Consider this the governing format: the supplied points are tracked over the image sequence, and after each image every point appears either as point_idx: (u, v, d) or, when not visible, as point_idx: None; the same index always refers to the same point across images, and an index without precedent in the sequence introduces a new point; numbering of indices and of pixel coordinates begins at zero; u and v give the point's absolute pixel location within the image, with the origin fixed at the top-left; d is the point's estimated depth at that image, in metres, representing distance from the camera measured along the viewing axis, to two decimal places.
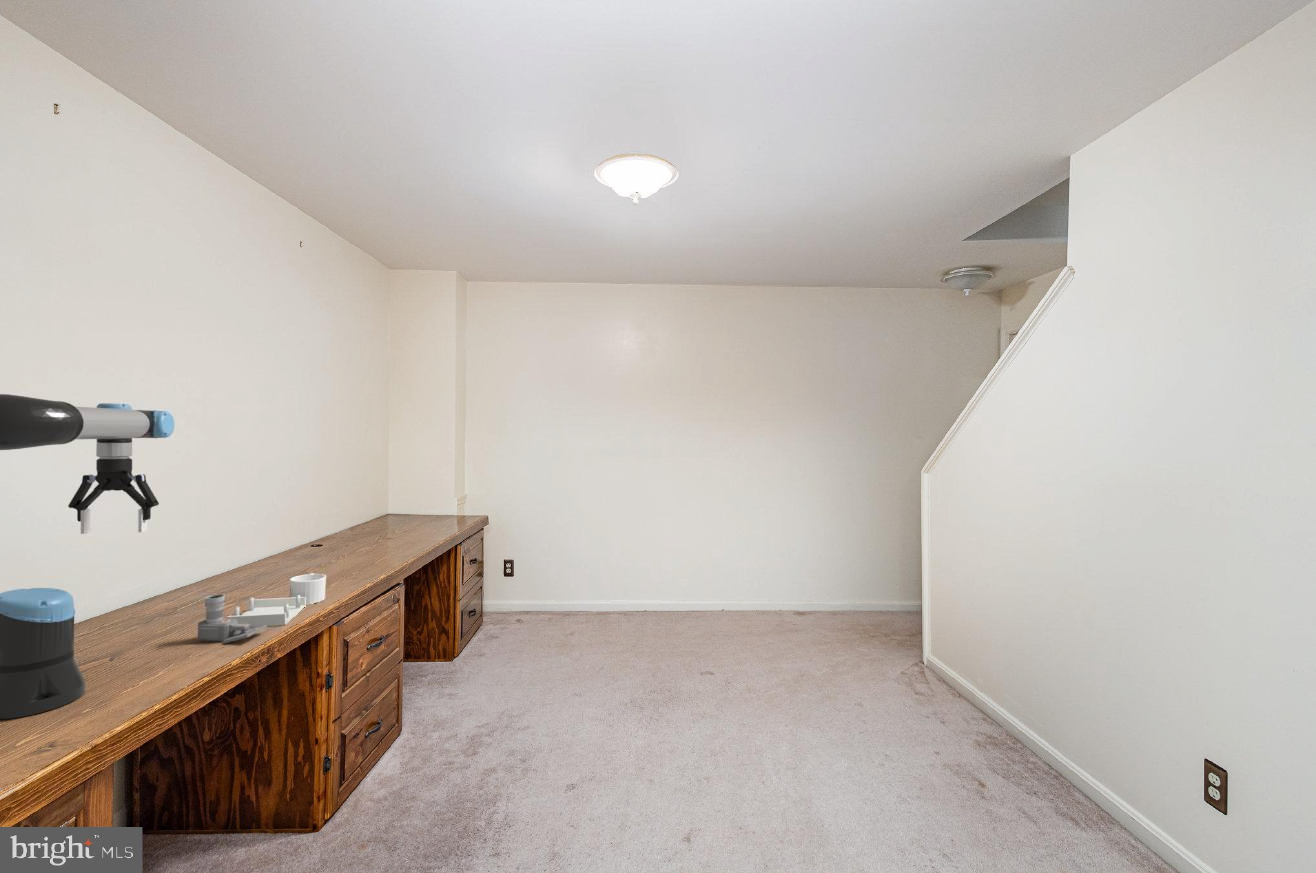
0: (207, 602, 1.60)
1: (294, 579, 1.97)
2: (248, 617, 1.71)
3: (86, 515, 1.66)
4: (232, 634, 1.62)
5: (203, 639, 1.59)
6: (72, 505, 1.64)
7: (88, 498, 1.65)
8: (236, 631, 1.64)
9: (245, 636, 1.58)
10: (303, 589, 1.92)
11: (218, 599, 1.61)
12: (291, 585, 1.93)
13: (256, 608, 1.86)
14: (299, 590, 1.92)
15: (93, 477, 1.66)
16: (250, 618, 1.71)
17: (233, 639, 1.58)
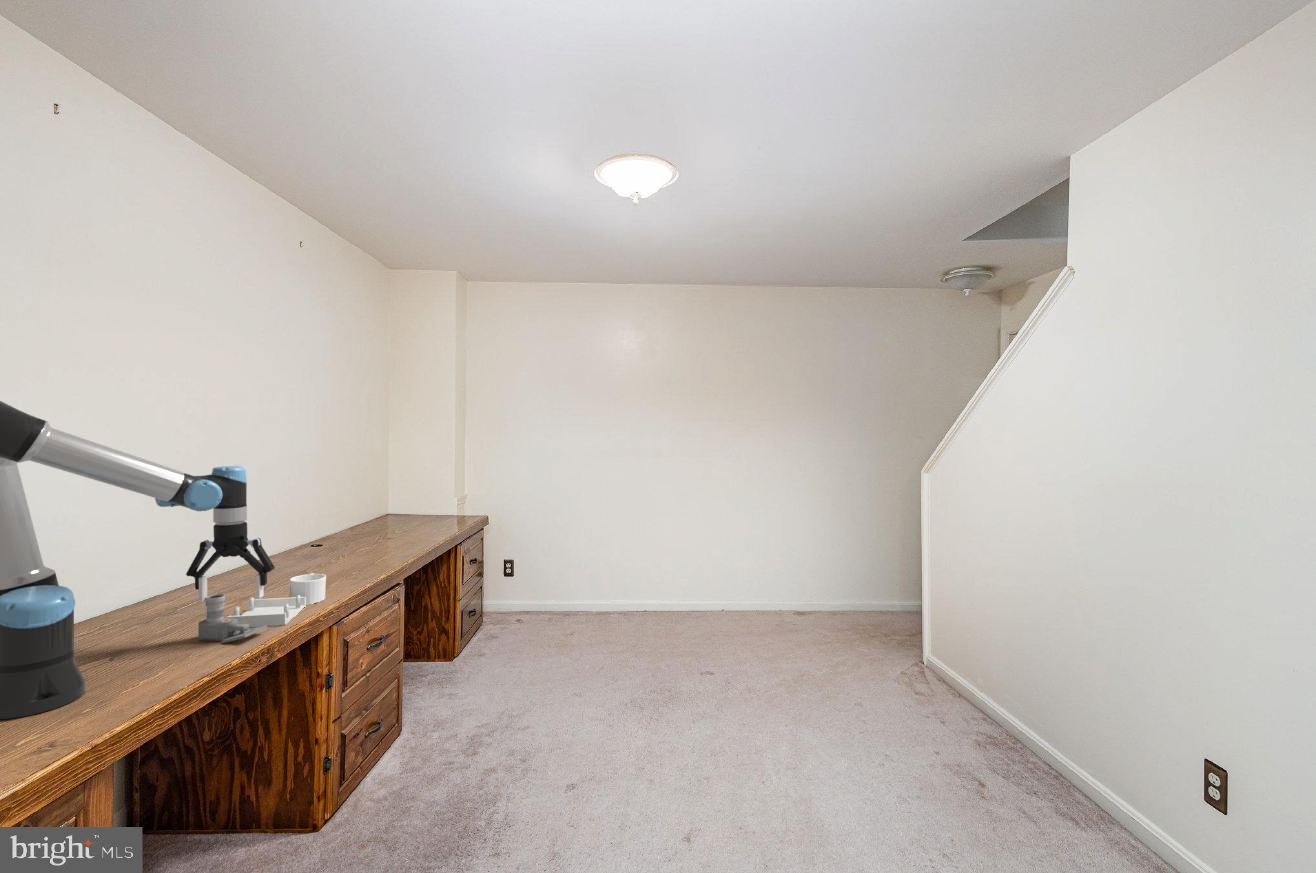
0: (207, 602, 1.60)
1: (294, 579, 1.97)
2: (248, 617, 1.71)
3: (203, 583, 1.60)
4: (232, 634, 1.62)
5: (203, 638, 1.60)
6: (190, 573, 1.59)
7: (206, 565, 1.60)
8: (236, 631, 1.64)
9: (243, 636, 1.58)
10: (303, 589, 1.92)
11: (218, 599, 1.61)
12: (291, 585, 1.93)
13: (256, 608, 1.86)
14: (299, 590, 1.92)
15: (210, 543, 1.60)
16: (250, 618, 1.71)
17: (231, 639, 1.58)
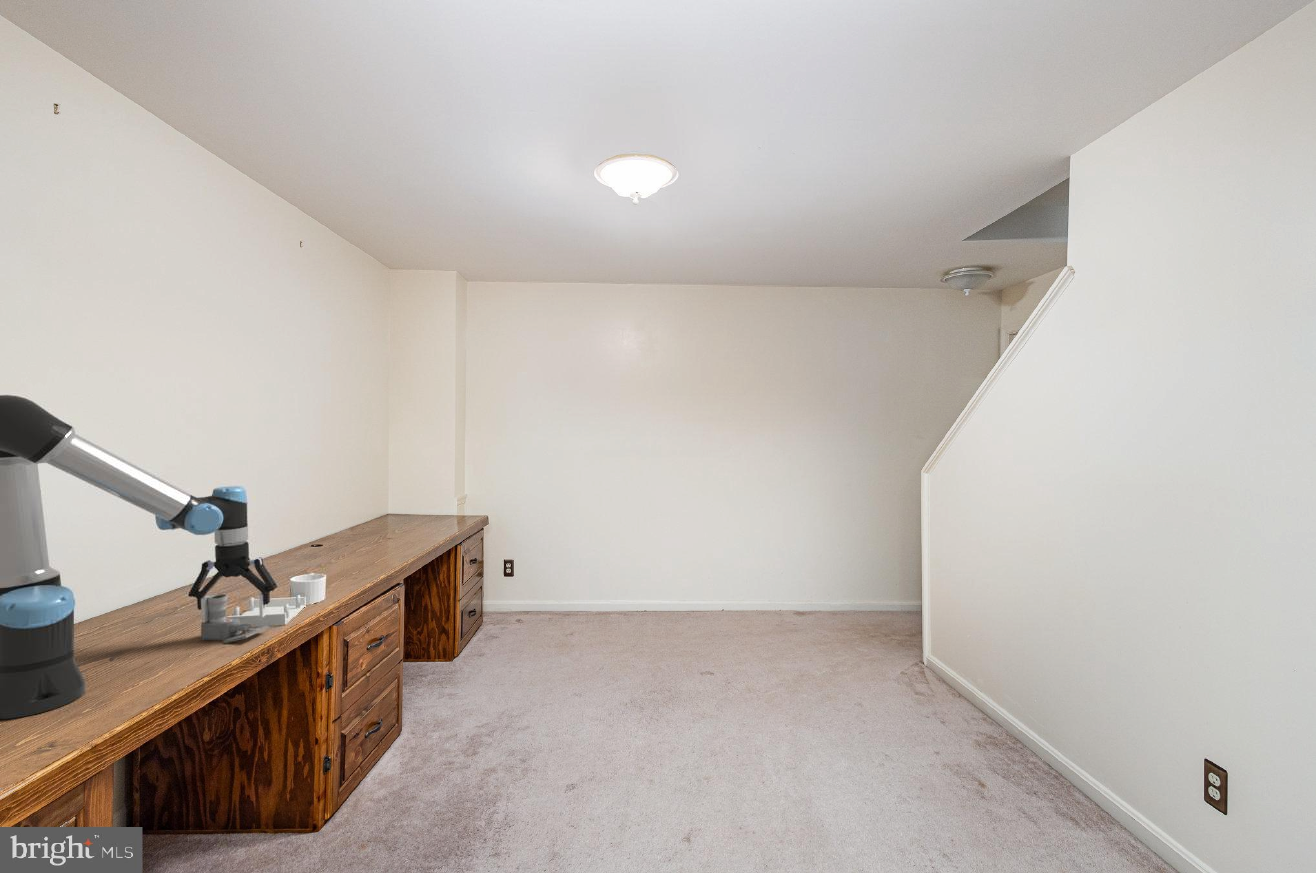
0: (209, 602, 1.61)
1: (294, 579, 1.97)
2: (248, 617, 1.71)
3: (206, 603, 1.61)
4: (234, 634, 1.63)
5: (205, 638, 1.60)
6: (192, 594, 1.59)
7: (208, 586, 1.60)
8: (238, 631, 1.64)
9: (244, 637, 1.58)
10: (303, 589, 1.92)
11: (220, 599, 1.62)
12: (291, 585, 1.93)
13: (256, 608, 1.86)
14: (299, 590, 1.92)
15: (212, 564, 1.61)
16: (250, 618, 1.71)
17: (233, 639, 1.58)
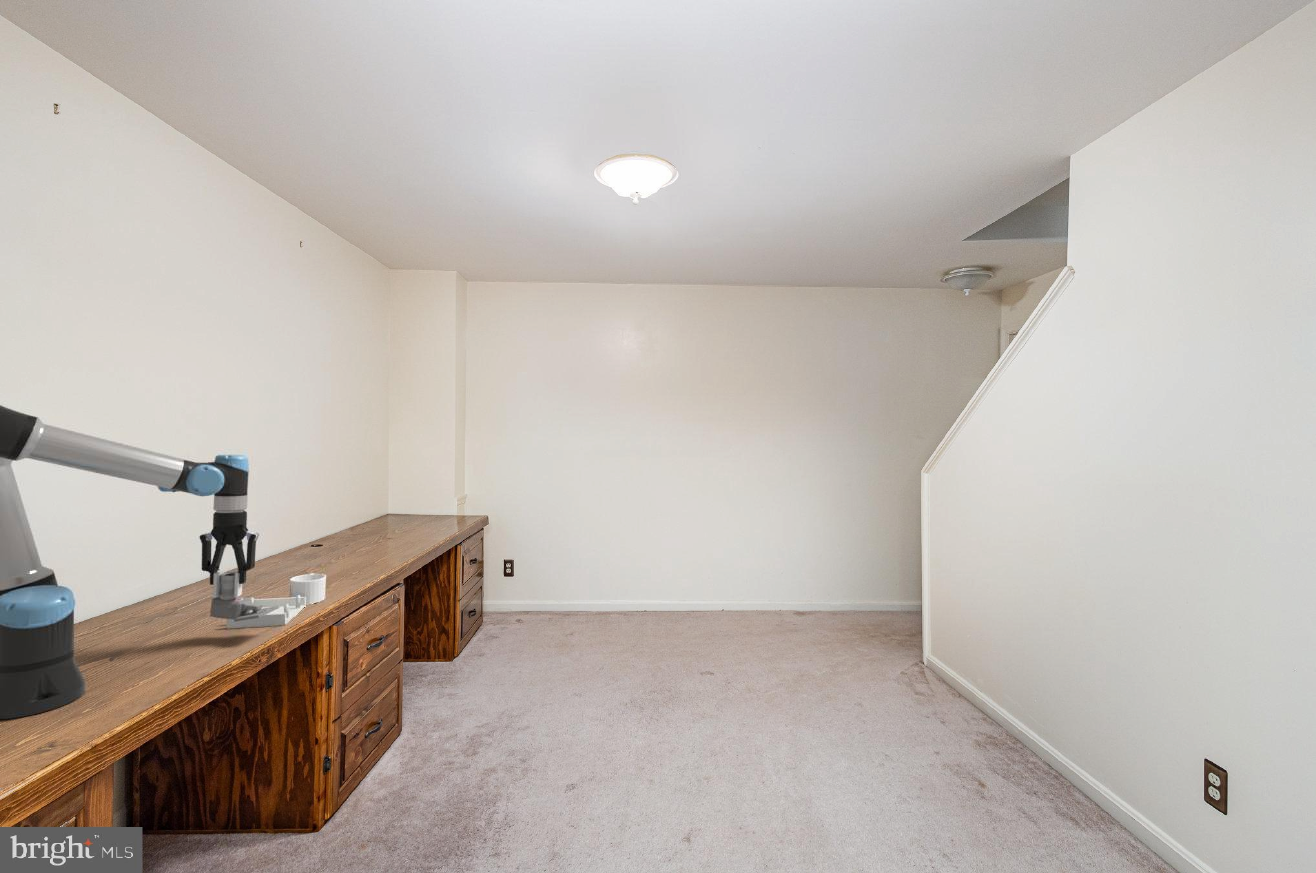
0: (222, 579, 1.61)
1: (294, 579, 1.97)
2: None
3: (218, 578, 1.61)
4: (244, 613, 1.63)
5: (215, 615, 1.60)
6: (205, 567, 1.59)
7: (215, 558, 1.60)
8: (248, 610, 1.64)
9: (256, 616, 1.59)
10: (303, 589, 1.92)
11: (233, 577, 1.61)
12: (291, 585, 1.93)
13: None
14: (299, 590, 1.92)
15: (209, 534, 1.60)
16: None
17: (244, 618, 1.58)
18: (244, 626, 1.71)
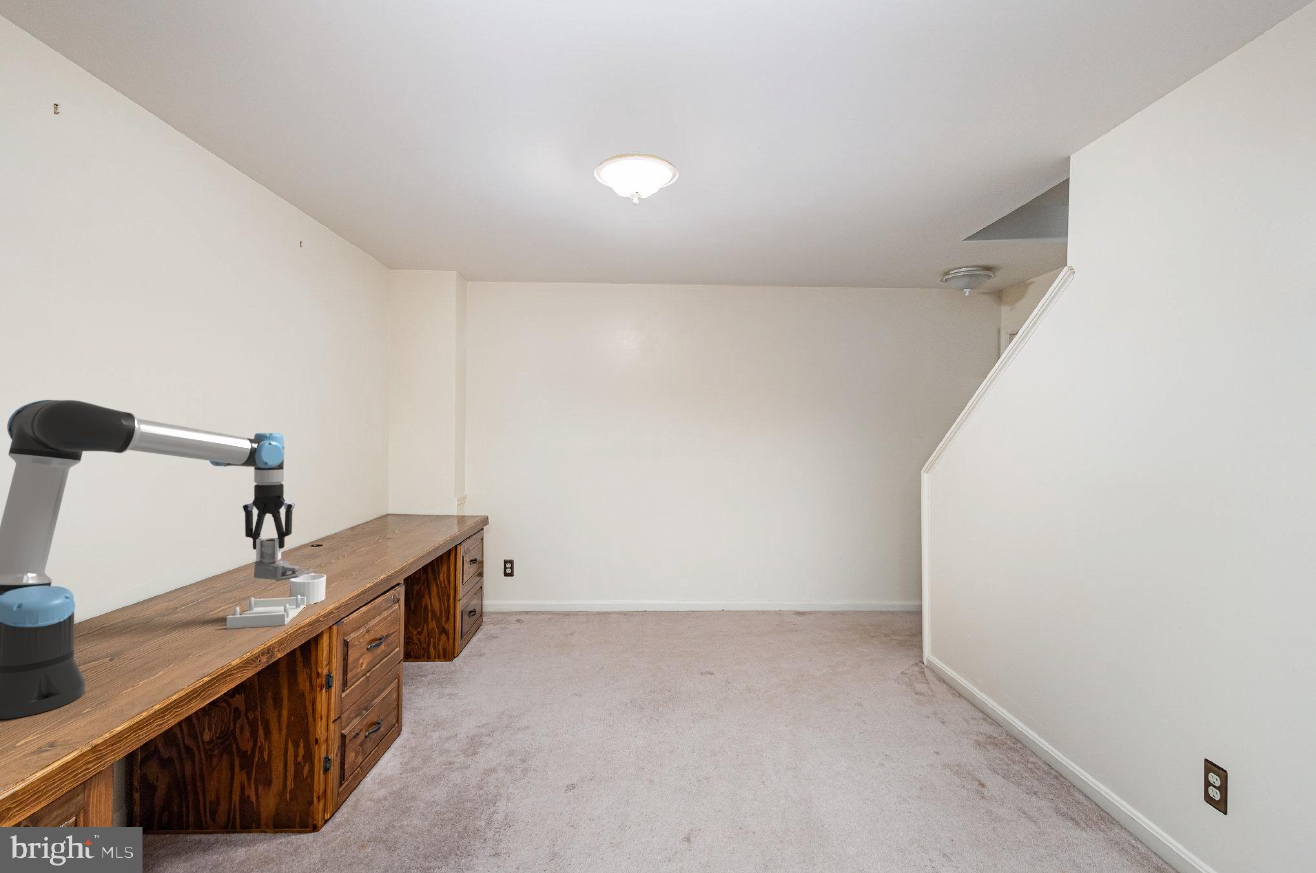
0: (264, 544, 1.79)
1: (294, 579, 1.97)
2: (248, 617, 1.71)
3: (260, 544, 1.79)
4: (284, 574, 1.81)
5: (259, 576, 1.79)
6: (248, 534, 1.78)
7: (257, 525, 1.78)
8: (287, 572, 1.83)
9: (296, 576, 1.77)
10: (303, 589, 1.92)
11: (273, 542, 1.80)
12: (291, 585, 1.93)
13: (256, 608, 1.86)
14: (299, 590, 1.92)
15: (251, 504, 1.78)
16: (250, 618, 1.71)
17: (285, 578, 1.77)
18: (244, 626, 1.71)
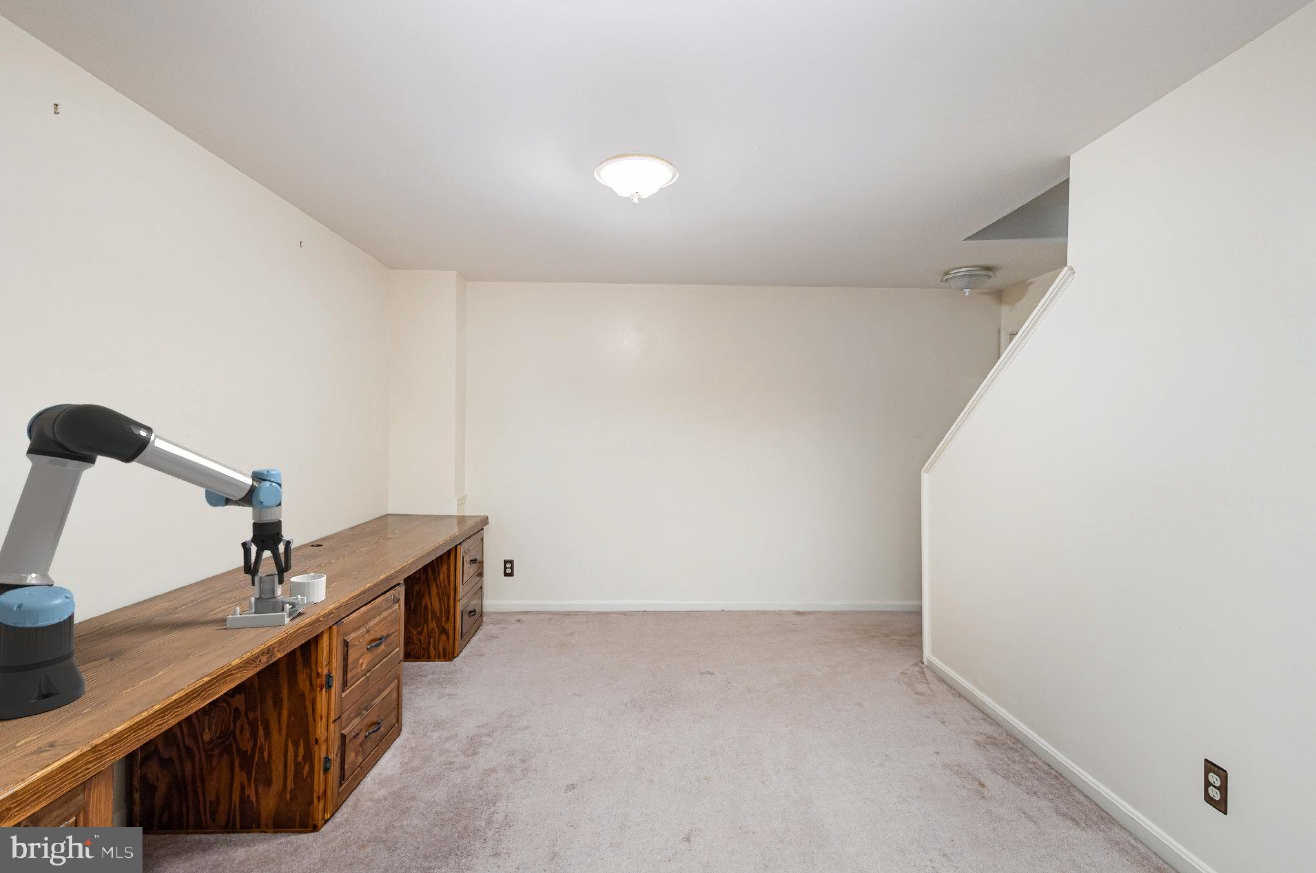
0: (262, 579, 1.80)
1: (294, 579, 1.97)
2: (248, 617, 1.71)
3: (259, 580, 1.79)
4: None
5: (259, 612, 1.79)
6: (247, 571, 1.78)
7: (255, 562, 1.78)
8: None
9: (296, 610, 1.77)
10: (303, 589, 1.92)
11: (272, 577, 1.80)
12: (291, 585, 1.93)
13: None
14: (299, 590, 1.92)
15: (249, 541, 1.78)
16: (250, 618, 1.71)
17: None
18: (244, 626, 1.71)
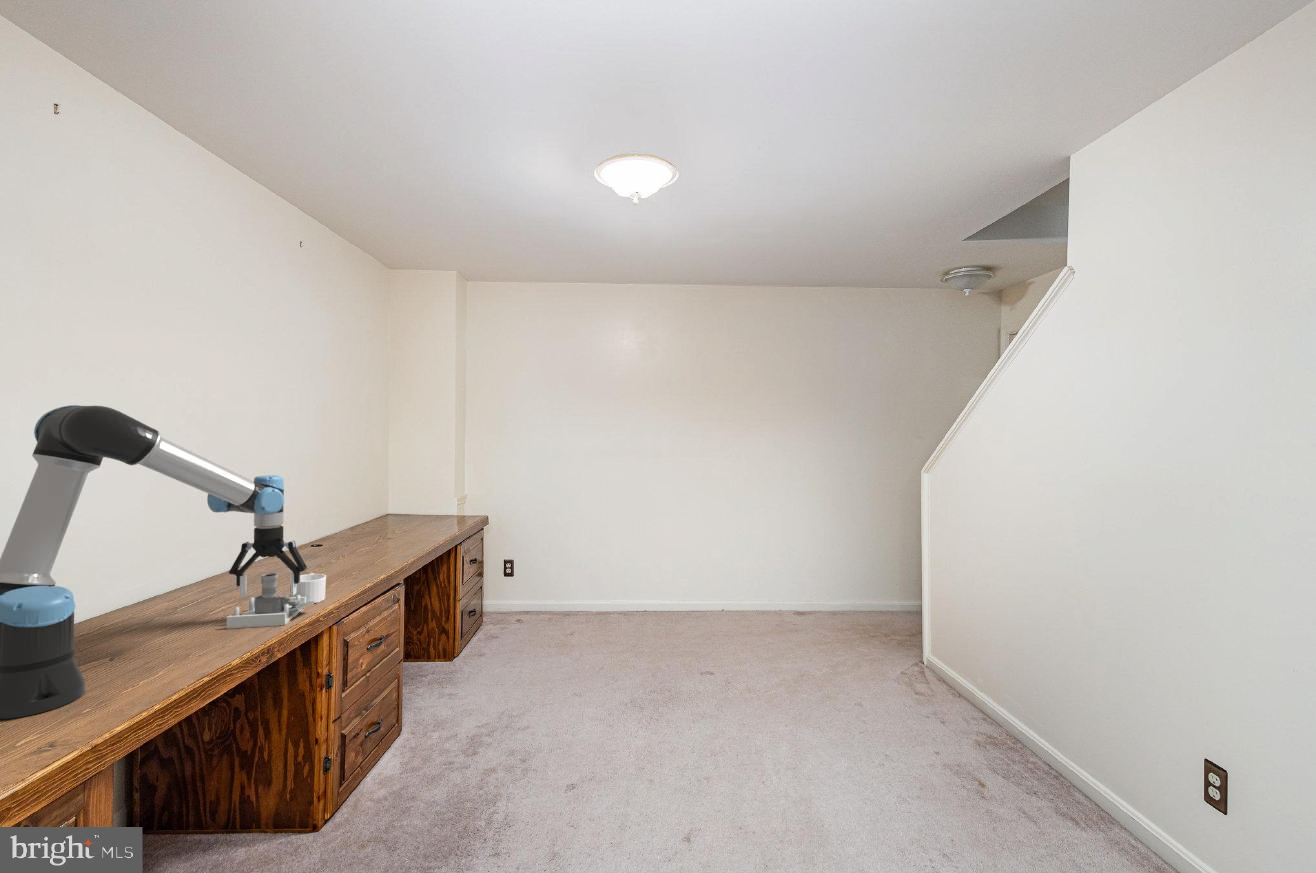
0: (263, 579, 1.80)
1: None
2: (248, 617, 1.71)
3: (244, 580, 1.78)
4: None
5: (259, 612, 1.79)
6: (232, 571, 1.77)
7: (246, 564, 1.78)
8: None
9: (296, 610, 1.77)
10: (303, 589, 1.92)
11: (272, 577, 1.80)
12: None
13: None
14: (299, 590, 1.92)
15: (250, 545, 1.78)
16: (250, 618, 1.71)
17: None
18: (244, 626, 1.71)
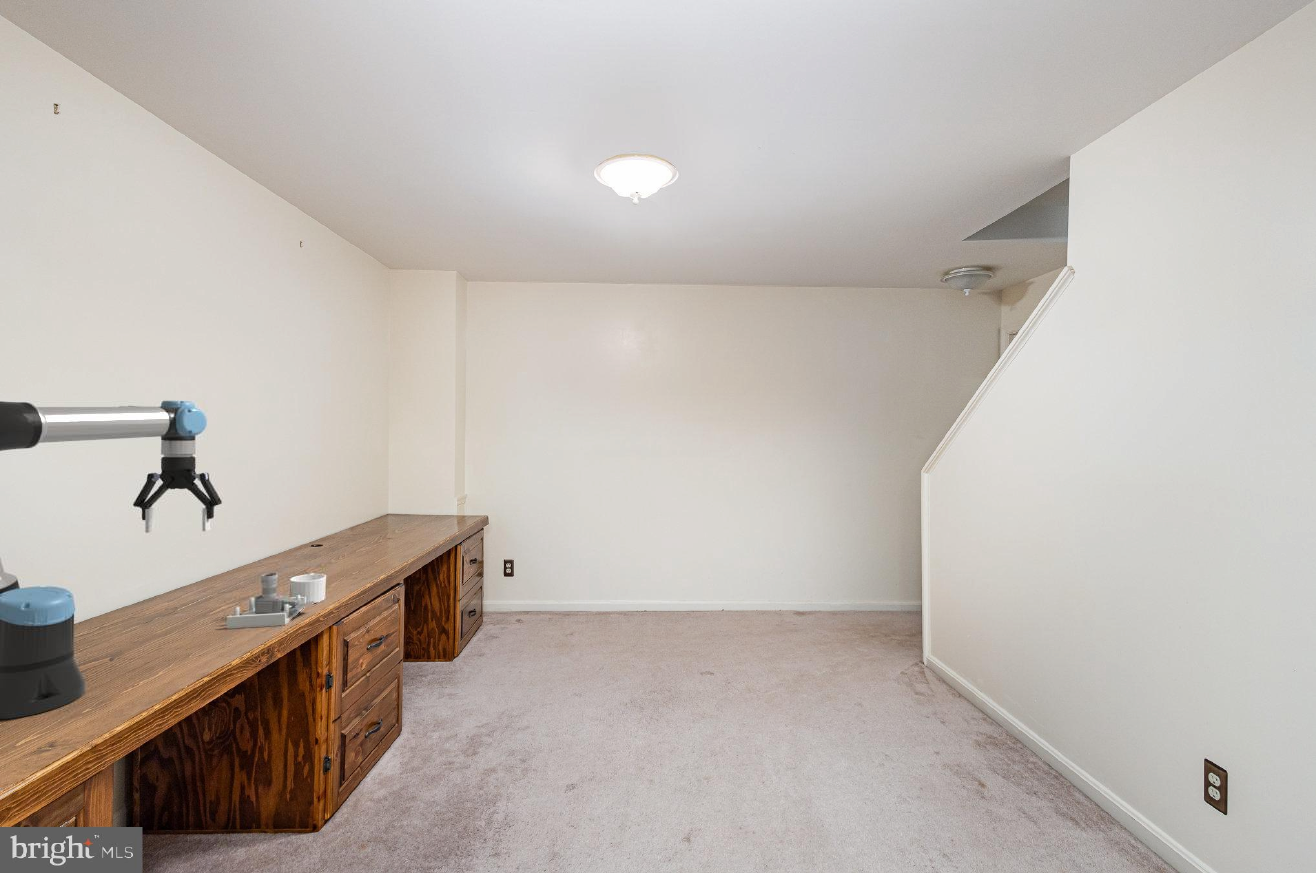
0: (263, 579, 1.80)
1: (294, 579, 1.97)
2: (248, 617, 1.71)
3: (150, 514, 1.64)
4: None
5: (259, 612, 1.79)
6: (137, 504, 1.62)
7: (153, 497, 1.63)
8: None
9: (295, 610, 1.77)
10: (303, 589, 1.92)
11: (272, 577, 1.81)
12: (291, 585, 1.93)
13: None
14: (299, 590, 1.92)
15: (157, 475, 1.64)
16: (250, 618, 1.71)
17: None
18: (244, 626, 1.71)
